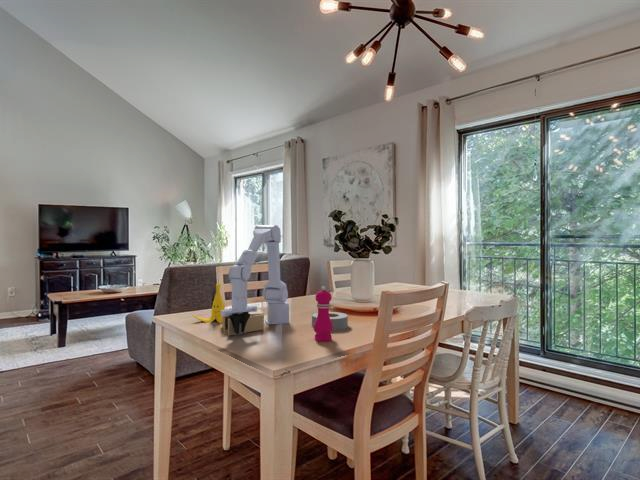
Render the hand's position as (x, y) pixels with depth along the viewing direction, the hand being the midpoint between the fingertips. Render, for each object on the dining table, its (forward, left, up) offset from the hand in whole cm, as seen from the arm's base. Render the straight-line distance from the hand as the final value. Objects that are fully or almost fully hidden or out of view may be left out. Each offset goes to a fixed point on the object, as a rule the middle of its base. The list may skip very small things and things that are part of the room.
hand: (239, 332), depth 147 cm
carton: (-3, -16, -2) cm, 16 cm away
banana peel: (+5, -34, -2) cm, 35 cm away
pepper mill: (-30, +10, -2) cm, 32 cm away
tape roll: (-39, -9, -2) cm, 40 cm away
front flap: (-5, -4, -2) cm, 6 cm away
